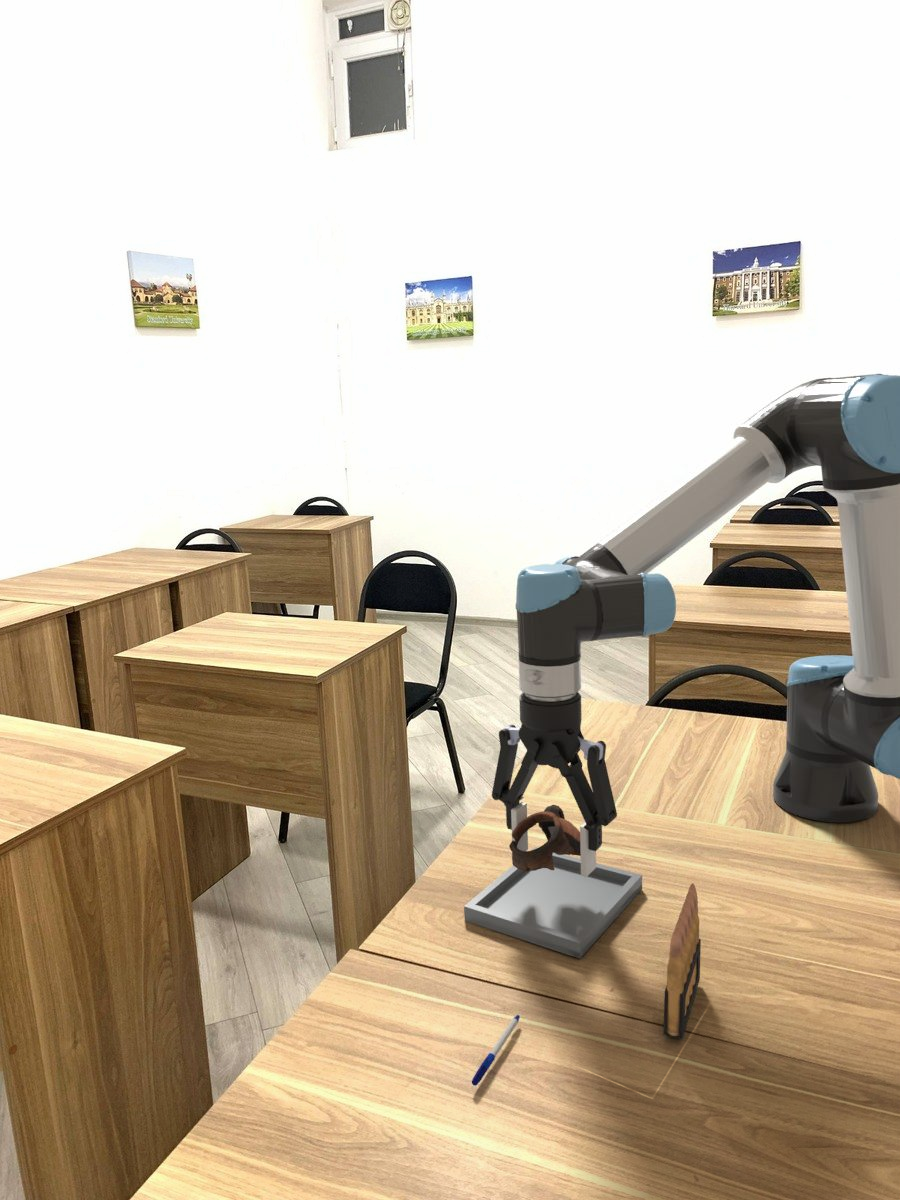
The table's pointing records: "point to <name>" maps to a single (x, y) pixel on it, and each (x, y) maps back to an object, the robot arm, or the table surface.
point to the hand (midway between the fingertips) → (553, 862)
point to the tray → (555, 904)
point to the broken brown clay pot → (558, 834)
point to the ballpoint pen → (494, 1051)
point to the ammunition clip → (682, 968)
